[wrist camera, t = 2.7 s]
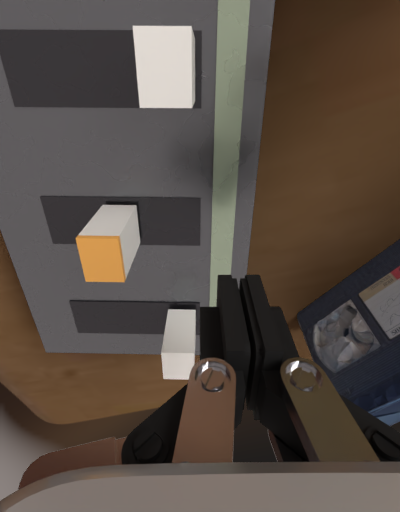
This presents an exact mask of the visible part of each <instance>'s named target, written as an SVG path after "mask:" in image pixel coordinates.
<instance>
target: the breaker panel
mask: <svg viewBox="0 0 400 512" xmlns="http://www.w3.org/2000/svg"><path fill="white" fill-rule="evenodd" d="M274 6H275V0H0V230H1V233H2V235H3V238H4V241H5V243H6V246H7V249H8V251H9V254H10V257H11V260H12V262H13V265H14V268H15V270H16V273H17V276H18V278H19V281H20V284H21V286H22V289H23V292H24V294H25V297H26V300H27V302H28V305H29V308H30V310H31V313H32V316H33V319H34V321H35V324H36V327H37V329H38V332H39V335H40V337H41V340H42V343H43V345H44V348H45V351H46V352H54V353H112V354H161V351H162V344H163V338H164V332H165V326H166V320H167V314H168V309H183V310H196V340H195V355H200V307H216V302H217V279H218V275H231V276H232V278H237V283H238V287H239V284H240V278H245V275H247V266H248V256H249V246H250V237H251V227H252V217H253V208H254V198H255V189H256V179H257V169H258V160H259V150H260V141H261V131H262V121H263V112H264V102H265V92H266V83H267V73H268V64H269V54H270V44H271V35H272V25H273V16H274ZM133 26H192V30H193V33H194V37H195V103H194V105H193V107H192V108H140V105H139V94H138V83H137V71H136V60H135V48H134V37H133ZM102 205H136V207H137V216H138V225H139V234H140V245H139V247H138V250H137V252H136V255H135V257H134V260H133V262H132V265H131V267H130V270H129V272H128V275H127V277H126V280H125V282H86V281H85V277H84V273H83V268H82V264H81V260H80V255H79V251H78V247H77V243H76V237H77V236H78V235H79V233H80V232H81V231H82V230H83V228H84V227H85V226H86V225H87V224H88V222H89V221H90V220H91V219H92V217H93V216H94V215H95V214H96V212H97V211H98V210H99V209H100V207H101V206H102Z"/></svg>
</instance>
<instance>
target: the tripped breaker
mask: <svg viewBox="0 0 400 512" xmlns="http://www.w3.org/2000/svg"><path fill="white" fill-rule="evenodd" d="M76 243H77V247H78V251H79V255H80V260H81V264H82V268H83V273H84V277H85V281H86V282H125V280H126V277H127V275H128V272H129V270H130V267H131V265H132V262H133V260H134V257H135V255H136V252H137V250H138V247H139V245H140V234H139V225H138V216H137V207H136V205H102V206H101V207H100V209H99V210H98V211H97V212H96V214H95V215H94V216H93V217H92V219H91V220H90V221H89V222H88V224H87V225H86V226H85V227H84V228H83V230H82V231H81V232H80V233H79V235H78V236H77V237H76Z"/></svg>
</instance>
